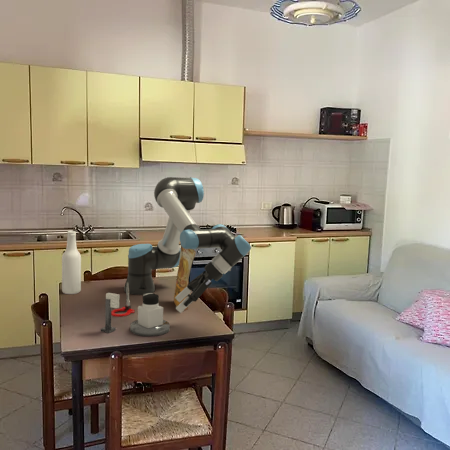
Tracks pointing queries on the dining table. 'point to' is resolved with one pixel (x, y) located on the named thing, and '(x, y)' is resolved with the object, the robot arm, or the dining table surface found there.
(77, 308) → the dining table surface
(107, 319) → the gray upright stand
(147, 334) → the disc
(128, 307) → the tow hook
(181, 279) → the pancake mix bag
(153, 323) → the medicine bottle
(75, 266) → the alcohol
